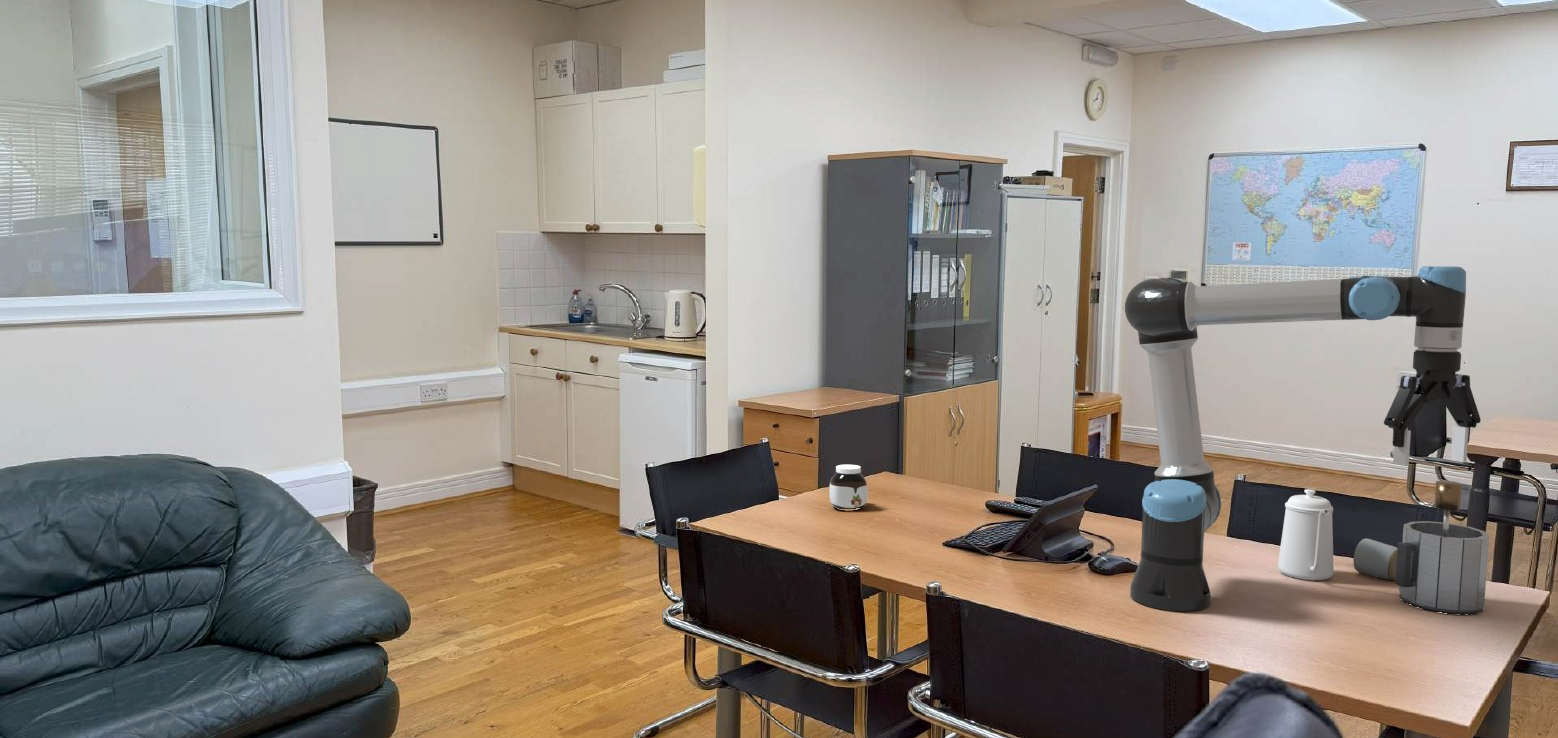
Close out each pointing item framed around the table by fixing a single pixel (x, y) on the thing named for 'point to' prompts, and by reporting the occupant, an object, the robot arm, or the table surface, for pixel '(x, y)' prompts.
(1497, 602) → the table surface
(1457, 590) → the grey panelled tankard
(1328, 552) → the coffeepot
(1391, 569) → the ceramic mug
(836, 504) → the spread jar
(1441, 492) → the plunger
